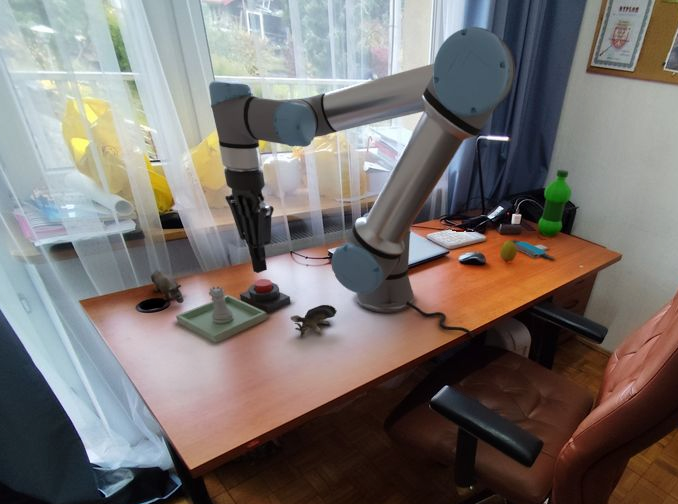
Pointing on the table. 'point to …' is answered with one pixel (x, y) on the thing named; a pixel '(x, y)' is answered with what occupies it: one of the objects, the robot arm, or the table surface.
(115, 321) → the table surface
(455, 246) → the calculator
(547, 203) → the plastic bottle
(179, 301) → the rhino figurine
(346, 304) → the table surface
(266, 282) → the button
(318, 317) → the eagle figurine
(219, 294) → the rook chess piece
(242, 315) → the green tray
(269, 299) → the control box
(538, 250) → the blue usb hub
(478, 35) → the robot arm
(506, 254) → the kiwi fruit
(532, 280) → the table surface
